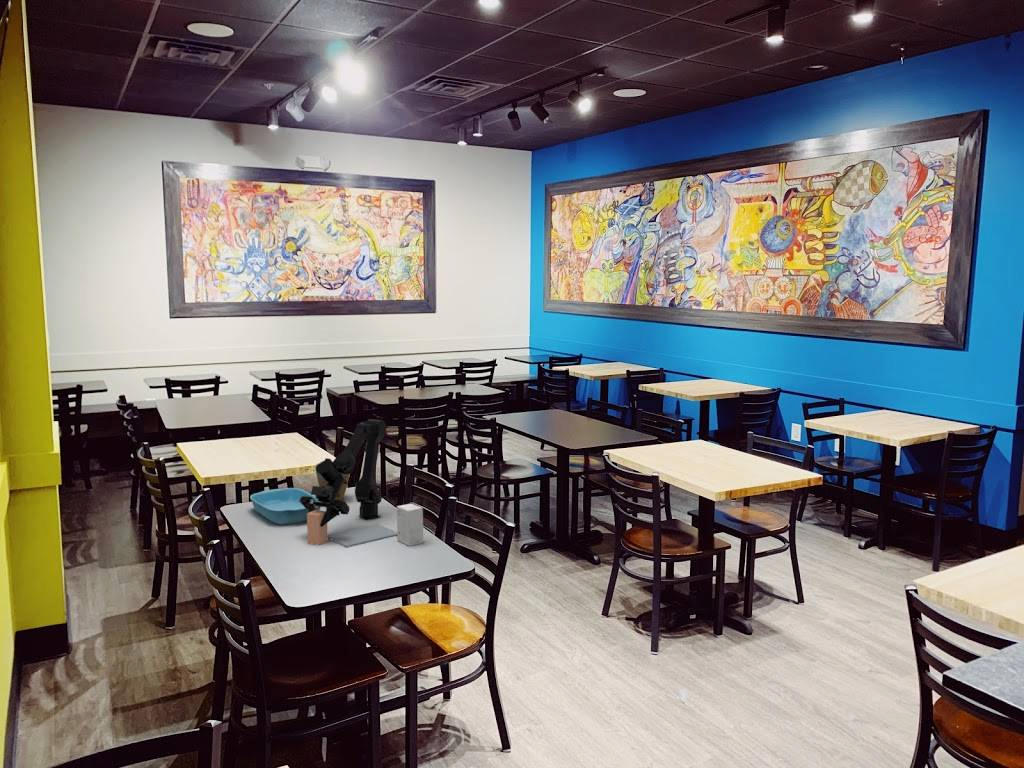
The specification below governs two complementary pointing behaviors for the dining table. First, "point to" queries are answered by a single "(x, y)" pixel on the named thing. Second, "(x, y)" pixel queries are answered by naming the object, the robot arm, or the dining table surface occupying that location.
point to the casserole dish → (282, 505)
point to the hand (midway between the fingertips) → (314, 525)
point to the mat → (362, 535)
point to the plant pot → (323, 483)
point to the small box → (410, 524)
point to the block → (316, 527)
